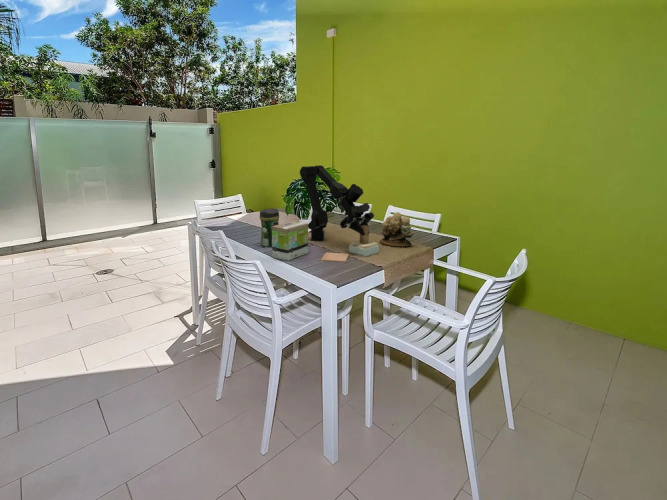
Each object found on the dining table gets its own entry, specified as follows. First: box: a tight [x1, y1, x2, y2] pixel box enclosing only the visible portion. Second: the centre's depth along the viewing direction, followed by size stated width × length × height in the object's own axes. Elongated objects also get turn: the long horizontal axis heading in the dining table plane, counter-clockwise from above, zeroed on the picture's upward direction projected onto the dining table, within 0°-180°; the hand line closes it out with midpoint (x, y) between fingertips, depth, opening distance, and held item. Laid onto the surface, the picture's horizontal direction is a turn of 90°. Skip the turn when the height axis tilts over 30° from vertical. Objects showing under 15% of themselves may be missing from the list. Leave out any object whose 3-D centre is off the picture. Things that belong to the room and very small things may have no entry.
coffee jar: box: [259, 207, 280, 248], centre depth 189 cm, size 10×8×19 cm
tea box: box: [271, 220, 309, 262], centre depth 173 cm, size 15×10×15 cm
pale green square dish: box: [348, 244, 380, 258], centre depth 179 cm, size 10×10×4 cm
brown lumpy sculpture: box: [379, 212, 415, 249], centre depth 191 cm, size 18×12×17 cm, turn 60°
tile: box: [320, 252, 350, 263], centre depth 172 cm, size 11×11×1 cm
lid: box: [350, 225, 378, 249], centre depth 177 cm, size 9×9×10 cm
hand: (366, 234), depth 176 cm, fingers closed on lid, 3 cm apart
